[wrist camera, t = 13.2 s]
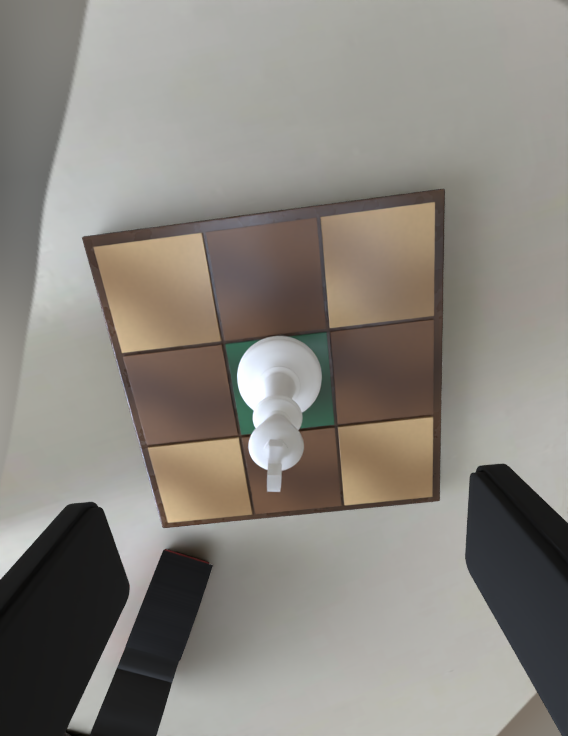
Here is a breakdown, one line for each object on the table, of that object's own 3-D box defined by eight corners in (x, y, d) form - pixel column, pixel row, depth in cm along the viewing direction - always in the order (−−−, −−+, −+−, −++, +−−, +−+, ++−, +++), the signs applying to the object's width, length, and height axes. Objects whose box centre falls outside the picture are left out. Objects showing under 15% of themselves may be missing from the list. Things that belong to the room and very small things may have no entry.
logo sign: (174, 524, 25) (90, 722, 14) (219, 539, 25) (170, 742, 14) (116, 680, 30) (21, 914, 19) (154, 691, 30) (83, 925, 19)
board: (93, 238, 19) (78, 236, 18) (435, 192, 18) (447, 187, 17) (167, 516, 25) (161, 531, 23) (432, 490, 24) (441, 503, 23)
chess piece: (324, 337, 19) (364, 411, 10) (318, 417, 21) (346, 549, 11) (237, 333, 19) (190, 403, 10) (237, 413, 21) (195, 542, 11)
